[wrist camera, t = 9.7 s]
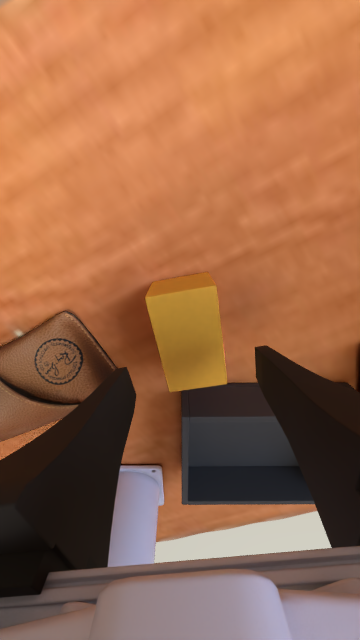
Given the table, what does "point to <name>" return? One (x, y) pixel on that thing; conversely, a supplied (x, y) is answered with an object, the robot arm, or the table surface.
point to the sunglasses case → (48, 374)
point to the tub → (237, 449)
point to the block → (188, 331)
